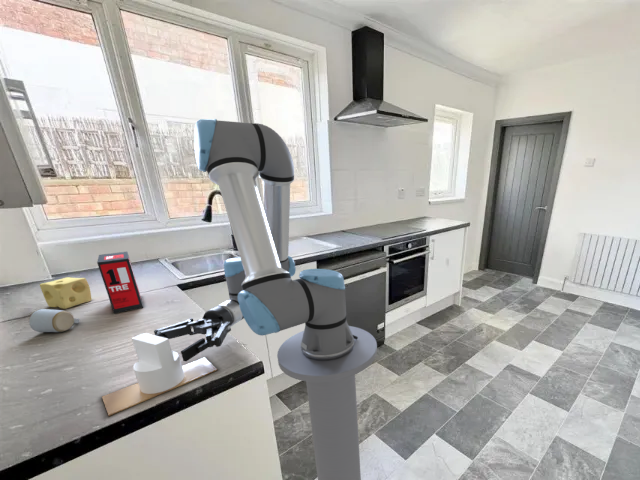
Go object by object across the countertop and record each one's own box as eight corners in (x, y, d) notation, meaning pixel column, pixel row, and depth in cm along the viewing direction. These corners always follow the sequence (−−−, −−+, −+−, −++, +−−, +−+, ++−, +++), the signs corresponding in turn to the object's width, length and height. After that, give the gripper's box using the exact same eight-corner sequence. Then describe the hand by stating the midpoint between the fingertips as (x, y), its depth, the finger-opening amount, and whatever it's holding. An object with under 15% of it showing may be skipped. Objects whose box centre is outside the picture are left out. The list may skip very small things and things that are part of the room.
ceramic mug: (58, 335, 100) (49, 314, 98) (33, 336, 100) (24, 314, 98) (88, 322, 110) (81, 302, 108) (65, 322, 110) (58, 302, 108)
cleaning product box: (114, 301, 129) (98, 254, 122) (140, 296, 134) (127, 251, 128) (114, 313, 117) (97, 262, 110) (143, 307, 122) (128, 258, 116)
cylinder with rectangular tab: (192, 375, 78) (181, 333, 74) (156, 397, 70) (141, 351, 66) (168, 368, 81) (156, 327, 77) (131, 388, 73) (116, 344, 69)
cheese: (65, 309, 122) (55, 285, 118) (46, 307, 124) (36, 283, 121) (94, 300, 131) (86, 277, 128) (76, 298, 134) (68, 276, 130)
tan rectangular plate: (204, 358, 86) (204, 357, 86) (217, 370, 80) (217, 369, 80) (102, 397, 71) (101, 396, 71) (108, 416, 65) (108, 415, 65)
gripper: (260, 331, 92) (206, 373, 72) (191, 324, 97) (124, 360, 78) (257, 308, 89) (200, 344, 70) (186, 302, 95) (115, 334, 76)
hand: (159, 353), depth 74 cm, fingers open, 13 cm apart
